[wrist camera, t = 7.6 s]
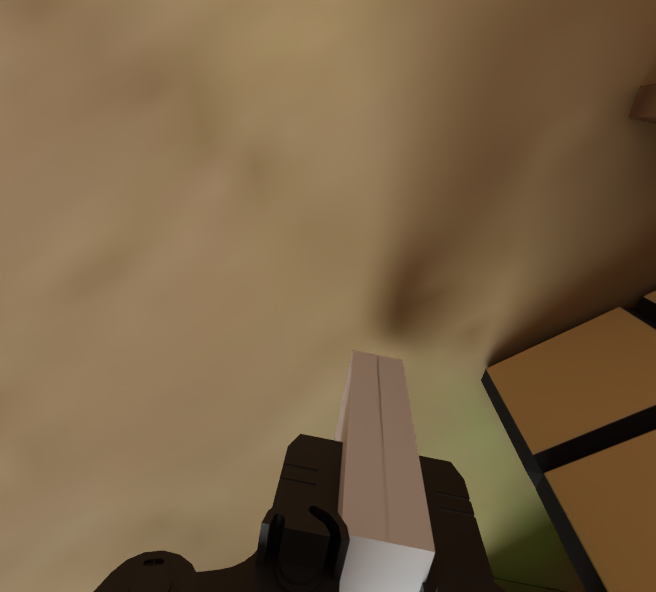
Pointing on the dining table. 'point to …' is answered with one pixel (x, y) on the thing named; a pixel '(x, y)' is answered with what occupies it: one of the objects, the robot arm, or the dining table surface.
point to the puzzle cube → (591, 440)
